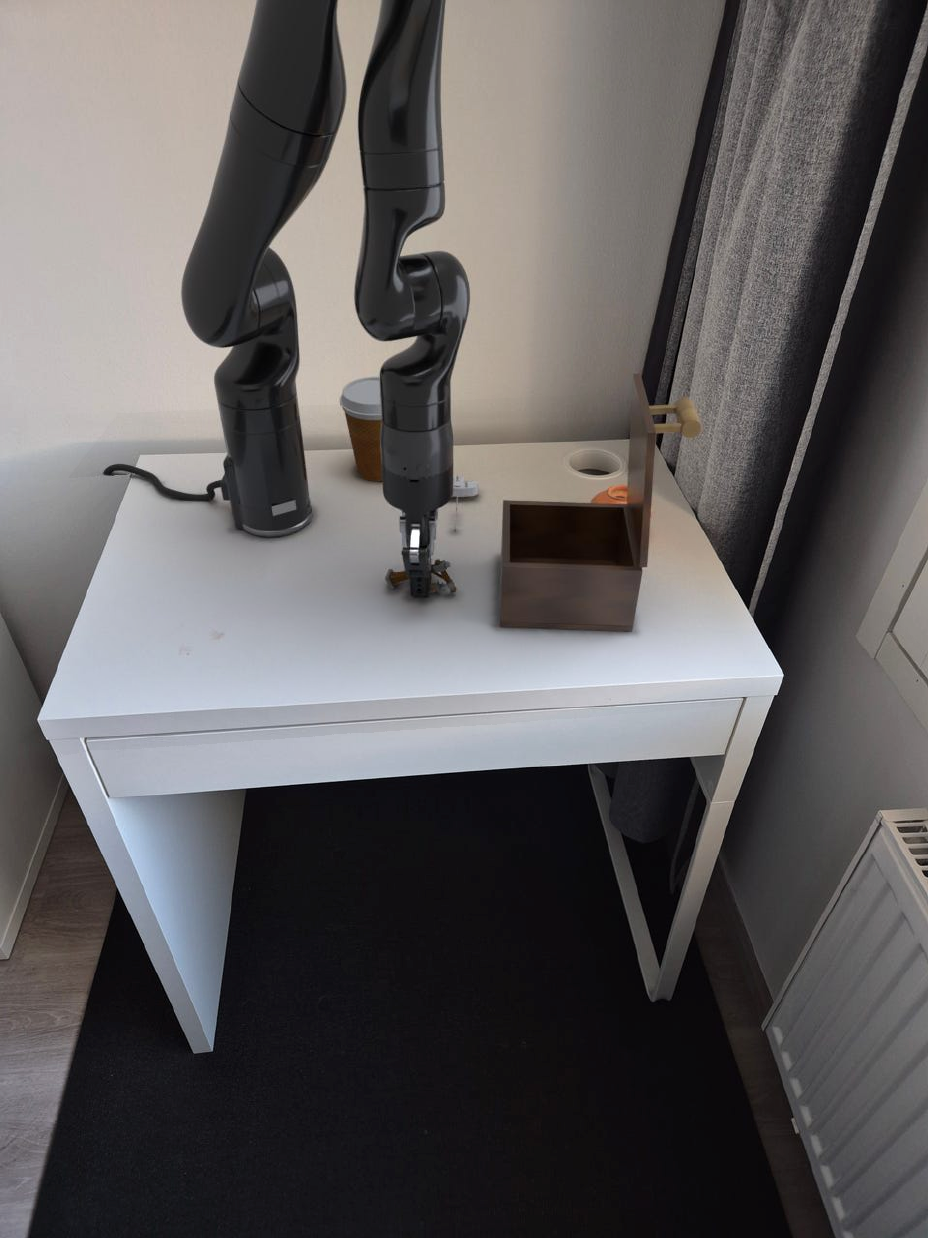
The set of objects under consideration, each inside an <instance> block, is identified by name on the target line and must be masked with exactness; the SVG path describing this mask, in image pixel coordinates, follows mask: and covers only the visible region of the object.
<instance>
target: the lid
mask: <svg viewBox="0 0 928 1238" xmlns="http://www.w3.org/2000/svg"><path fill="white" fill-rule="evenodd" d="M673 414H675V417H676V421H677V422H672V423H671V422H670V423H668V422H667V423H655V422H654V418H653V415H655V416H656V415H673ZM629 421H630V422H629V441H628V460H627V461H628V462H627V464H628V465H627V483H626V486H627V505H628V510H629V515H630V521H631V526H632V531H633V536H634V541H635V546H636V552H637V557H638V562H639V567H642V568H648V564H649V563H648V562H649V549H650V532H651V520H652V517H651V508H652V505H653V504H652V503H653V491H654V489H653V487H654V477H655V476H654V473H655V460H656V447H657V445H656V443H657V434H667V433H669V434H671V433H681V435H682V436H683V437H684V438H686V439H695V438H697V437H698V436H700V434H701V433H702V431H703V425H702V422H701V419H700V416H699V414H698V411H697V407H696V406H695V402H694V401H693V400H692V399H691V398H690V397H686V396H685V397H681V398H678V399H677V401H675V403H674V404H660V405H658V404H657V405H650V404H649V401H648V397H647V393H646V389H645V386H644V382H643V378H642V374H641V373H640V372H639V373H632V377H631V399H630V420H629Z"/></svg>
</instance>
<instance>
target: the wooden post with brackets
mask: <svg viewBox="0 0 928 1238" xmlns="http://www.w3.org/2000/svg"><path fill="white" fill-rule="evenodd" d="M451 565H452V564H451V562H450V561H447V560H446V559H442V560H440V559H439V558H438V559H435V560H434V563H433V564H432V563H431V570H430V574H432V575H435V576H436V577H438V578H440V579H441V580H443V581H444V583H443V582H441V583H440V581H439V579H437V581H436V582H431V583H430V594H433V593H435V592H438V593H439V594H440V593H441V590H443V589H444V588H446V587H447V589H449V591H450V593H451V594H454V593H456V592H457V586H456V584H455V582H454V580H453V578H451V577H450V574H449V573H448V571H447V570H448V568H450V567H451ZM384 579H385V581H386V582H387V585H388V587H389V588H390V590H391V591H392V590H394V589H396V585H398V584H400V583H403V582H405V581H408V580H410V577H406V574H405V570H401V571H394V570H393V568H388V571H387V572H386V574H385V576H384Z"/></svg>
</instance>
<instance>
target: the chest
mask: <svg viewBox="0 0 928 1238" xmlns="http://www.w3.org/2000/svg"><path fill="white" fill-rule="evenodd" d="M501 516H502V518H501V539H500V574H499V575H500V577H499V626H498V627H500V628H513V629H514V628H515V629H517V628H518V629H519V628H520V629H547V630H548V629H549V630H575V631H577V630H578V631H601V632H602V631H603V632H604V631H606V632H633V628H634V623H635V617H636V612H637V606H638V601H639V596H640V595H639V593H640V590H641V589H640V588H641V583H642V578H643V577H642V576H643V572H644V571H643V567H639V562H638V557H637V552H636V546H635V541H634V536H633V531H632V526H631V521H630V515H629V510H628V505H627V504H610V503H590V502H576V501H575V502H573V501H543V500H542V501H539V500H507V499H503V500H502V515H501Z"/></svg>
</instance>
